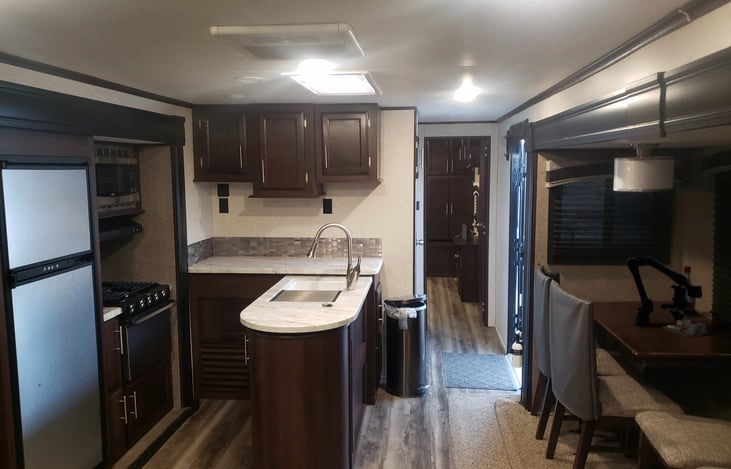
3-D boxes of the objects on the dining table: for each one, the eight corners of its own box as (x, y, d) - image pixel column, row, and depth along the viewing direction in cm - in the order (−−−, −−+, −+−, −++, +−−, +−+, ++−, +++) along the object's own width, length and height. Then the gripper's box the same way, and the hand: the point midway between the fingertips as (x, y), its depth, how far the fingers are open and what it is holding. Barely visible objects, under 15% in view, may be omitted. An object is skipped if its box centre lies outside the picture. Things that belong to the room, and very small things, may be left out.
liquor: (678, 312, 329) (681, 265, 326) (695, 315, 322) (698, 266, 319) (674, 315, 322) (676, 266, 319) (691, 318, 316) (694, 268, 313)
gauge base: (687, 337, 278) (688, 326, 278) (662, 328, 294) (663, 319, 293) (708, 334, 282) (708, 324, 282) (682, 326, 298) (682, 317, 297)
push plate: (676, 329, 287) (676, 321, 286) (671, 327, 290) (672, 320, 289) (690, 327, 290) (690, 320, 289) (685, 326, 292) (685, 319, 292)
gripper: (706, 299, 285) (704, 327, 287) (676, 292, 303) (674, 318, 305) (690, 300, 282) (688, 329, 284) (661, 293, 300) (659, 320, 301)
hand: (678, 324), depth 293 cm, fingers closed
